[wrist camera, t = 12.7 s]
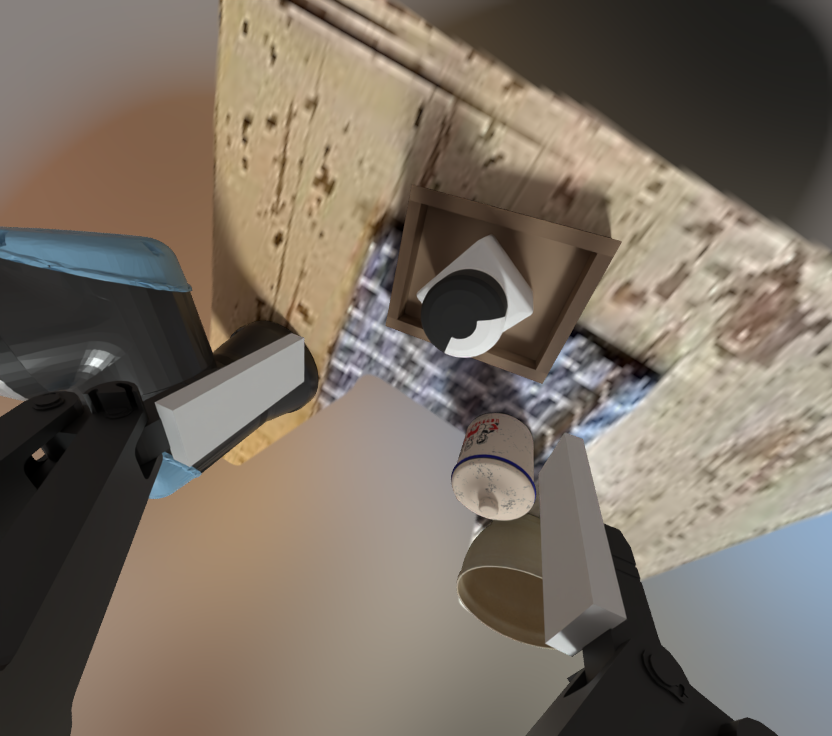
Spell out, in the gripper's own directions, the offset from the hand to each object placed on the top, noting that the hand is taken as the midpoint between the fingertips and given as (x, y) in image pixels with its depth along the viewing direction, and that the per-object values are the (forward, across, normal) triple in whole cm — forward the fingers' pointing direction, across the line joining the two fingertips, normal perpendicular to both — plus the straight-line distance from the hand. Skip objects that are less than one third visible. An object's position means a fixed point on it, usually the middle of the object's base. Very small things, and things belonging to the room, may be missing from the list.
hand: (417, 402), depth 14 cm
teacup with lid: (+21, -8, +19) cm, 29 cm away
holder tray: (+21, 0, -2) cm, 21 cm away
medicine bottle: (+20, 0, -2) cm, 20 cm away
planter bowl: (+21, -17, +33) cm, 43 cm away
